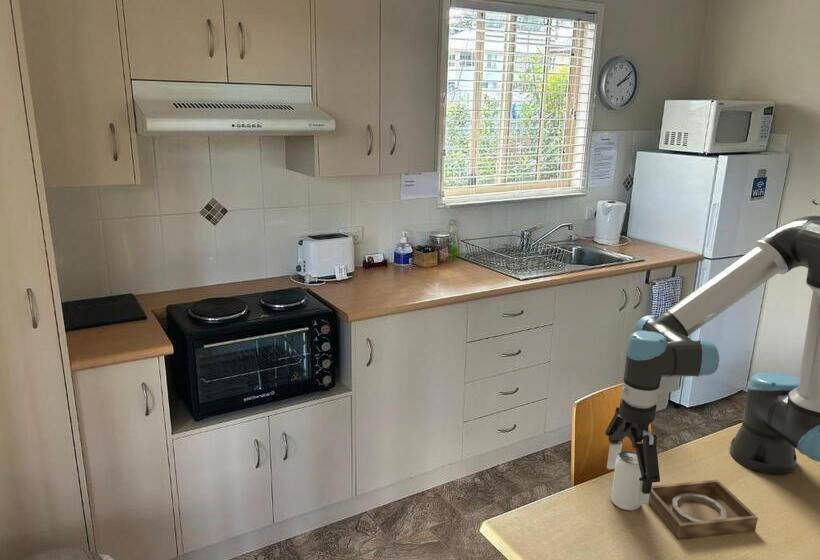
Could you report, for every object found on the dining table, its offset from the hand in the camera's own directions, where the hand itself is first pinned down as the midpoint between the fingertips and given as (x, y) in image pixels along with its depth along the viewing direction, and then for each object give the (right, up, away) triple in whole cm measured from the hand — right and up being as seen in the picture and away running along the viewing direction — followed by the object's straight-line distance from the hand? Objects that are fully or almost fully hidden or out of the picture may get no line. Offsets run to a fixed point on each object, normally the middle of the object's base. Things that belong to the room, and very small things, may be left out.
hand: (626, 485), depth 145 cm
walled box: (+15, -6, -3) cm, 16 cm away
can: (0, -5, +1) cm, 5 cm away
